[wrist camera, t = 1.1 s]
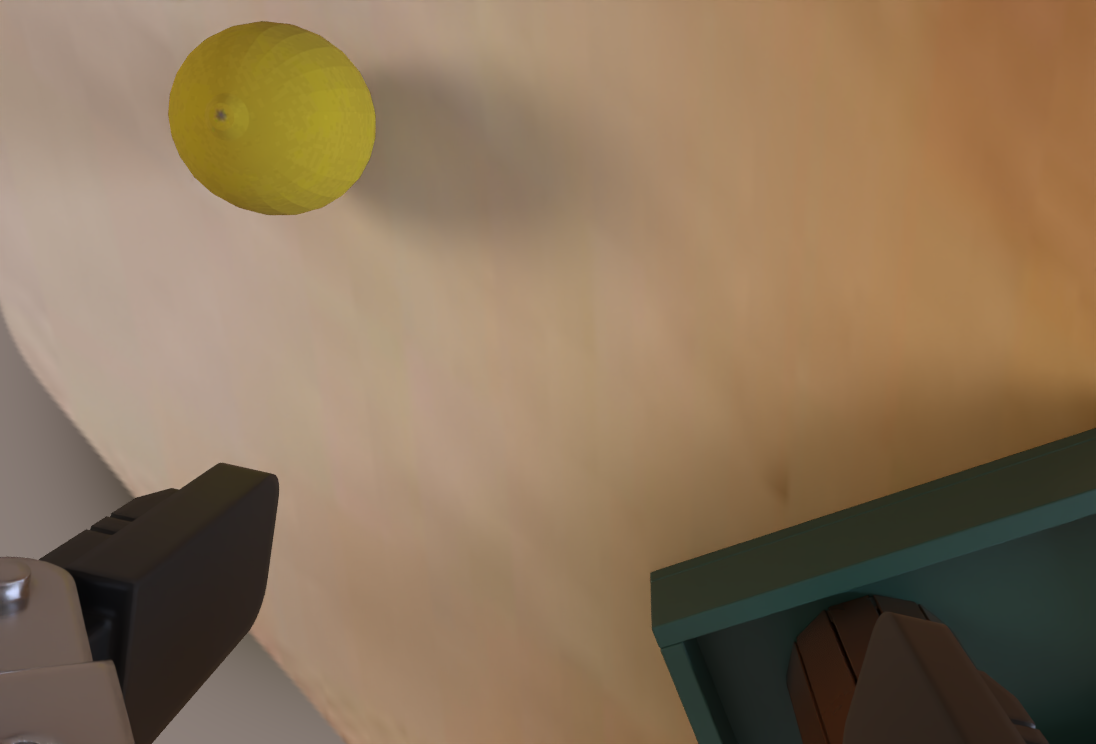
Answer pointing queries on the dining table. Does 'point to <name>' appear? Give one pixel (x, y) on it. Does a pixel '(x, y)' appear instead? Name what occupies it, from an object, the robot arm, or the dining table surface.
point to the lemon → (272, 118)
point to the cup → (837, 662)
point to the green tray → (903, 593)
